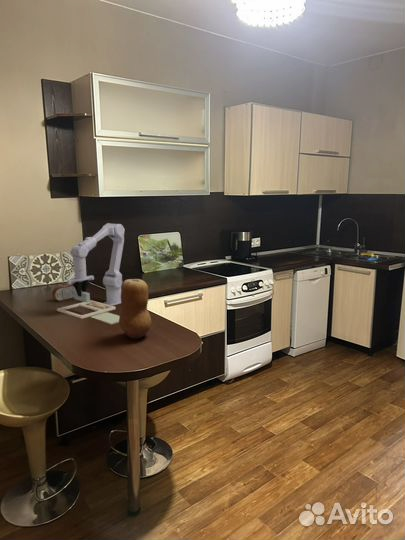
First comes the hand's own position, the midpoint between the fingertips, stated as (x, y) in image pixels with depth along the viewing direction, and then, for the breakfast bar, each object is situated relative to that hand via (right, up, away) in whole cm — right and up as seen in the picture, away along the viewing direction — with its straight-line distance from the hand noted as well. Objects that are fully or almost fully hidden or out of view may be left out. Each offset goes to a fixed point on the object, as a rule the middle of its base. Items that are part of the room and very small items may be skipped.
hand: (81, 295), depth 203 cm
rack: (+1, -8, +5) cm, 10 cm away
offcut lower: (+5, -8, +10) cm, 14 cm away
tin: (-17, -4, +26) cm, 32 cm away
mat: (+16, -11, -8) cm, 21 cm away
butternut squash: (+33, -16, -33) cm, 49 cm away
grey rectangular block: (0, -2, 0) cm, 2 cm away
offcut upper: (+5, -7, +9) cm, 13 cm away
